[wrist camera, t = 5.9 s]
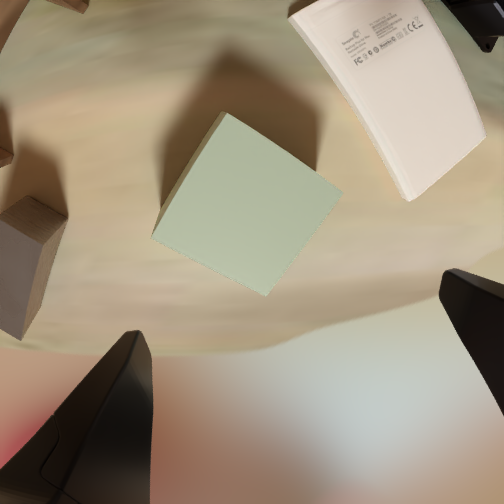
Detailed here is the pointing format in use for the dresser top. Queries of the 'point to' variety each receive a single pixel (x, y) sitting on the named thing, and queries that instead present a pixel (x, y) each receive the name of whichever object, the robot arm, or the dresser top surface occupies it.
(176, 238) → the sage block
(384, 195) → the dresser top surface
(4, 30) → the frame
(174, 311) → the dresser top surface
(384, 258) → the dresser top surface
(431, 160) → the external hard drive
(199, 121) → the dresser top surface
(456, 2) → the robot arm
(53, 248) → the dark gray rectangular block
